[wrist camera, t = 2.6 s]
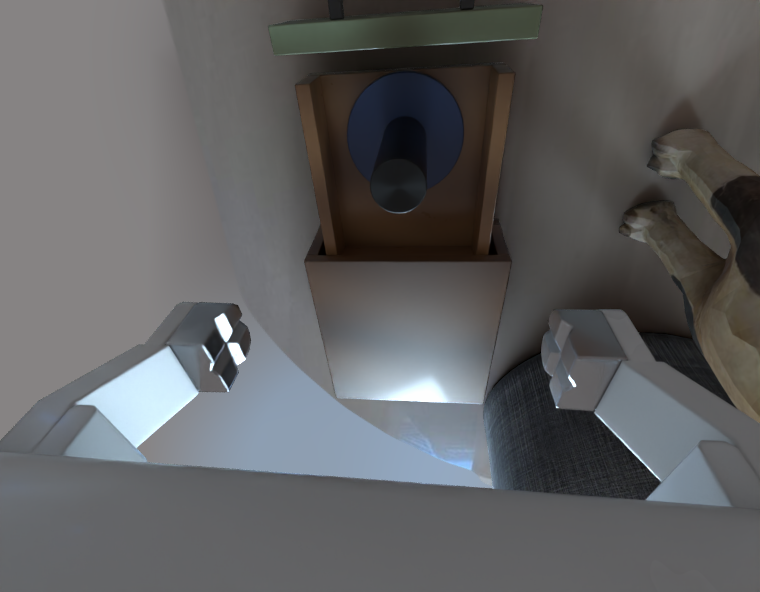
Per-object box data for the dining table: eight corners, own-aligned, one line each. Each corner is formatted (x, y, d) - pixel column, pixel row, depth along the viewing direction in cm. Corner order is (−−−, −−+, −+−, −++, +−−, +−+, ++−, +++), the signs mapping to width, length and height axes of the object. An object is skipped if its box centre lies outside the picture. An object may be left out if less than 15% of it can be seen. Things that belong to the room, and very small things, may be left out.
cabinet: (321, 221, 29) (303, 261, 25) (498, 219, 27) (512, 261, 23) (345, 353, 39) (335, 398, 34) (476, 357, 37) (483, 404, 33)
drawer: (267, -106, 17) (235, -126, 14) (546, -139, 16) (574, -168, 13) (330, 246, 29) (319, 274, 26) (488, 246, 28) (496, 275, 25)
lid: (354, 192, 25) (333, 252, 19) (340, 73, 20) (308, 106, 15) (458, 190, 24) (469, 252, 18) (468, 66, 20) (486, 97, 14)
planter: (655, 473, 48) (778, 730, 32) (463, 452, 50) (483, 689, 33) (807, 343, 32) (1232, 733, 15) (515, 316, 33) (610, 651, 16)
